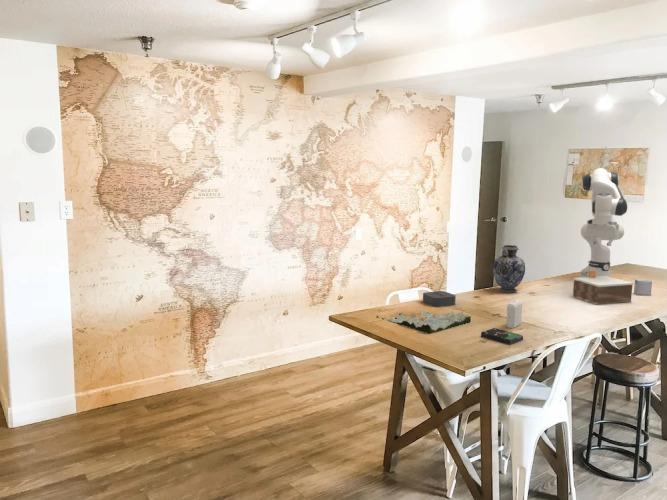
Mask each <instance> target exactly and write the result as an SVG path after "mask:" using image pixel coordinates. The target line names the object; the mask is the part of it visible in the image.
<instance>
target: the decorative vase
mask: <svg viewBox="0 0 667 500" xmlns="http://www.w3.org/2000/svg"><path fill="white" fill-rule="evenodd" d="M501 249H502V252H501V255H500V256H498V257H497V258H495V259H494V261H493V266H492V271H493V276H494V279H495V283H496V285H498V286H500V288H498V292H501V293H507V294H516V293H517V289H516V288H517V287H519V285H520V284H521V282H522V281H523V279H524V276H525V274H526V273H525V272H526V263H525V261H524V259H522V257H520V256H517V253H518V251H519V250H520V249H519V248H518V246H517V245H515V244H514V245H511V244H506V245H503V246H502V247H501Z"/></svg>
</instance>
